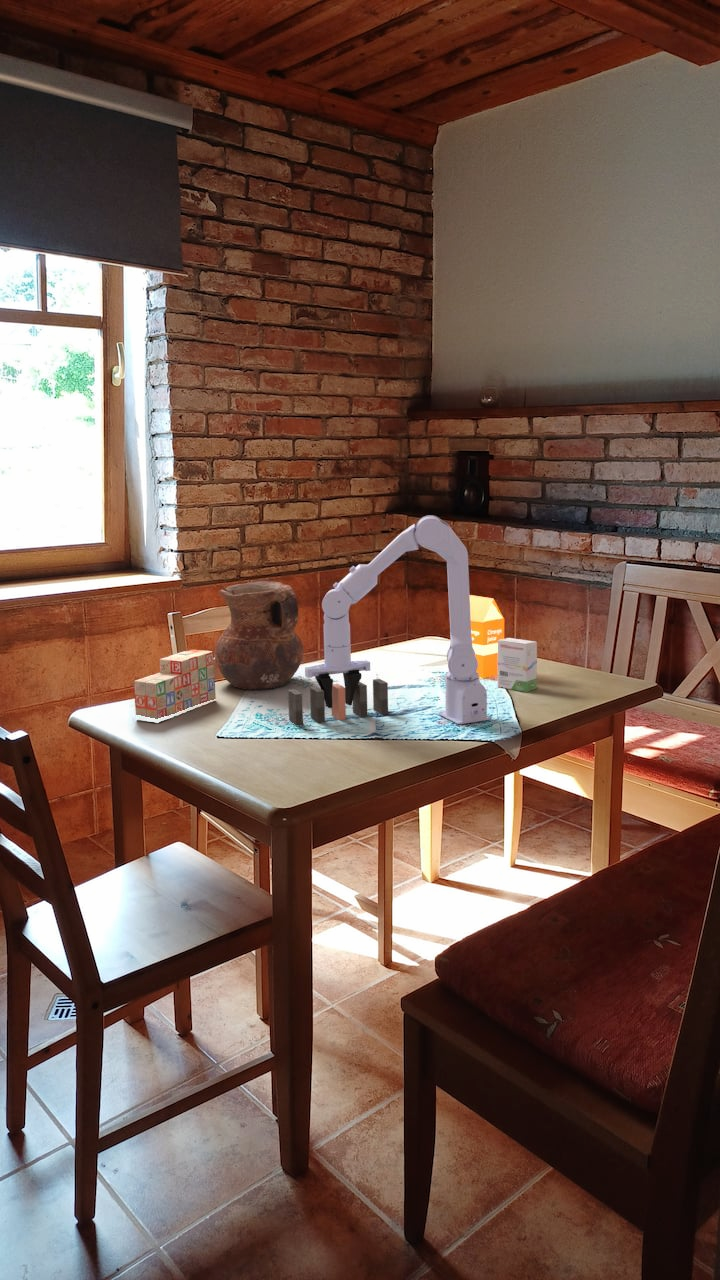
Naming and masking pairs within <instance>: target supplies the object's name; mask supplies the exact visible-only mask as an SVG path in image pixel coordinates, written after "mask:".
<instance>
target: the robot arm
mask: <svg viewBox="0 0 720 1280" xmlns="http://www.w3.org/2000/svg"><path fill="white" fill-rule="evenodd" d="M419 545H420V546H421V547H423V548H425V549H427V550H429V551H431V552H435V553H436V554H437V555H438V556H440V557H441V558H442V559H443V560H444V561H446V571H447V589H448V595H447V596H448V611H449V612H448V613H449V630H450V631H449V634H450V639H449V640H450V646H449V648H448V650H447V653H446V660H447V668H448V671H447V672H446V673H445V676H444V677H445V685H444V686H445V710H442V711H438V712H437V715H440V716H441V717H443V718H445V719H447V720H448V721H450V722H452V723H454V724H457V725H462V724H470V723H478V722H483V721H485V722H486V721H490V720H491V717H490V716H488V715H487V714H488V712H487V709H488V706H487V705H488V702H487V701H488V698H487V697H488V694H487V693H488V692H487V689H486V687H485V686H484V685H483V684H482V683H481V681H480V678H479V673H478V672H476V671H477V668H478V661H477V658H476V654H475V651H474V649H473V645H472V635H471V615H470V595H471V594H470V576H469V573H470V572H469V553H468V550H467V547H466V546H465V544H464V543H463V542H462V541H461V539H460V538H459V537H458V535H457V534H456V533H455V532H454V531H453V529H452V528H451V526H450V525H449V523H447V522H446V521H444V520H442V519H441V518H440V517H438V516H436V515H432V514H431V515H429V514H428V515H425V516H422V517H421V518H420V519H419V520H418V521H417V523H416V524H415V523H413V524H412V525H410V526H409V527H407V528H406V529H404V530H403V531H402V532H401V533H399V534H398V535H397V536H396V537H395V538H394V539H393V540H392V541H391V542H390V543H389V544H388V545H387V546H386V547H385V548H384V549H383V550H381V552H380V553H378V554H377V555H376V556H375V557H374V558H373V559H372V560H371V561H370V562H369V563H368V564H365V563H364V564H361V563H359V564H358V565H356V566H354V565H352V566H351V567H350V568H349V573H347V575H345V577H343V578H342V579H341V580H340V581H339V582H336V581H335V583H334V584H333V585H332V586H333V588H332V589H330V590H328V592H326V594H325V596H324V597H323V599H322V602H321V608H322V611H323V612H324V614H323V622H324V623H323V626H322V627H323V648H324V651H323V653H324V655H323V656H324V658H323V659H324V663H322V664H321V663H320V664H317V665H313V666H306V667H304V676H305V677H306V678H308V679H312V678H315V680H316V682H317V683H318V685H319V686H318V687H319V688H320V689H322V690H323V691H324V704H325V707H326V708H328V709H331V708H332V686H333V684H334V679H333V678H331V675H338V674H342V676H343V681H344V688H345V704H346V705H347V706H353V697H354V693H355V690H356V687H357V685H358V683H359V682H361V679H362V673H361V671H366V672H368V671H371V662H370V661H368V660H367V659H366V660H355V661H352V657H351V656H352V653H351V651H352V649H351V646H352V645H351V623H350V620H349V619H350V616H349V611H350V607H351V606H352V605H355V604H357V603H358V602H359V601H360V600H361V599H363V597H365V596H367V594H368V593H370V592H371V591H372V589H374V588H375V587H377V585H378V576H379V575H380V574H381V573H382V572H383V571H385V569H388V568H389V567H390V565H392V564H393V563H394V562H395V561H396V560H398V559H399V558H400V557H402V555H404V554H405V553H406V552H411V551H417V550H419V547H420V546H419Z"/></svg>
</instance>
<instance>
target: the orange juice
mask: <svg viewBox="0 0 720 1280" xmlns="http://www.w3.org/2000/svg"><path fill="white" fill-rule="evenodd" d="M470 615H471V635H472V645H473V649H474V651H475V654H476V658H477V661H478V668H477V671H476V672H478V673H479V677H481V678H480V679H482V678H485V679H487V678H486V677H489V678H491V677H490V676H494V675H498V641H499V640H501V639H505V618H504V616H503V614H502V613H501V611H500V609H499V606H498V605H497V602H496V601H495V599H494V598H492V597H485V596H478V595H474V594H473V595H472V594H470ZM494 677H495V676H494Z"/></svg>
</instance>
